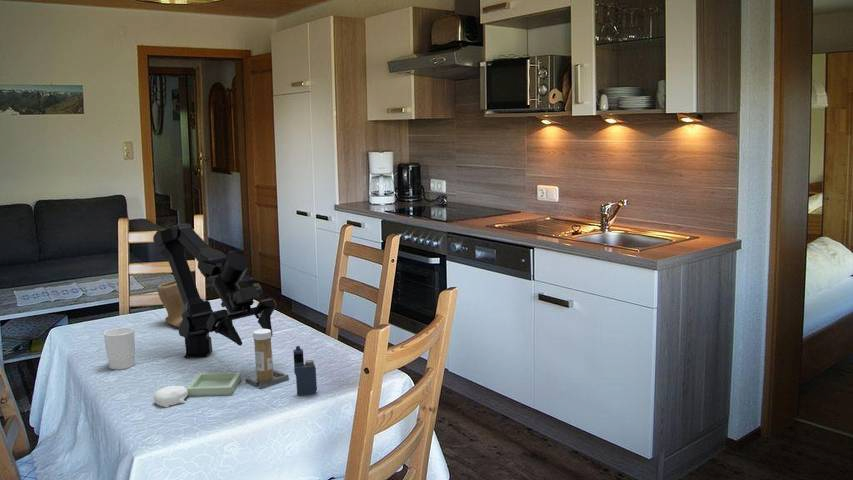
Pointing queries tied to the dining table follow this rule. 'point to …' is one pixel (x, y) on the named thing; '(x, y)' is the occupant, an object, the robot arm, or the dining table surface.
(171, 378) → the dining table surface
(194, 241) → the robot arm
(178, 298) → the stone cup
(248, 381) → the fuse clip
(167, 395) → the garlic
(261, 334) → the sprinkles bottle
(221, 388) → the tray
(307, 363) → the vaping device
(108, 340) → the white cup
